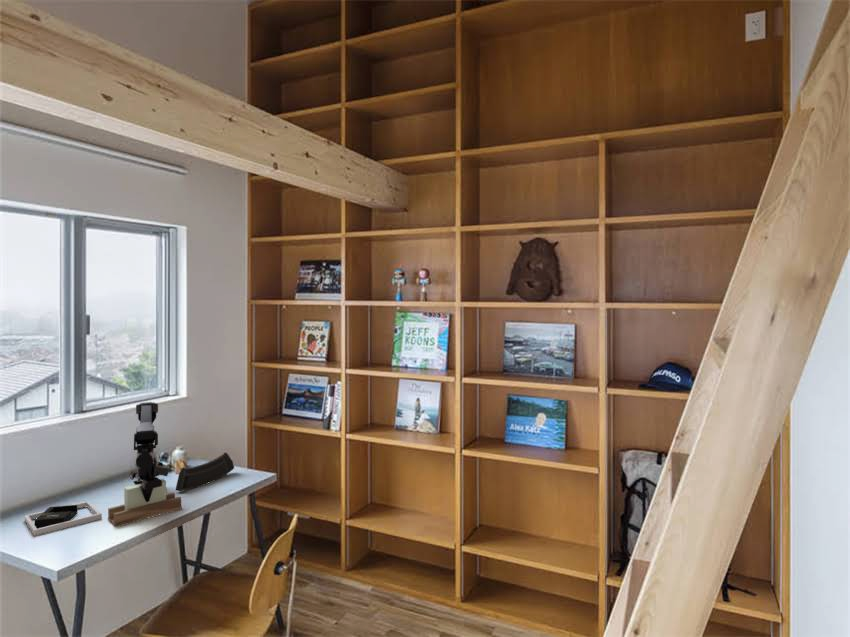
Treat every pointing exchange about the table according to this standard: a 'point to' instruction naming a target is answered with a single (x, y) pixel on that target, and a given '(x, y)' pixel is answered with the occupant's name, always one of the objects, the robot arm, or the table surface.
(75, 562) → the table surface
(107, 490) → the table surface
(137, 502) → the green book
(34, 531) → the grey frame
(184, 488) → the magazine
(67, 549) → the table surface
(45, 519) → the battery charger
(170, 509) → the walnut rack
